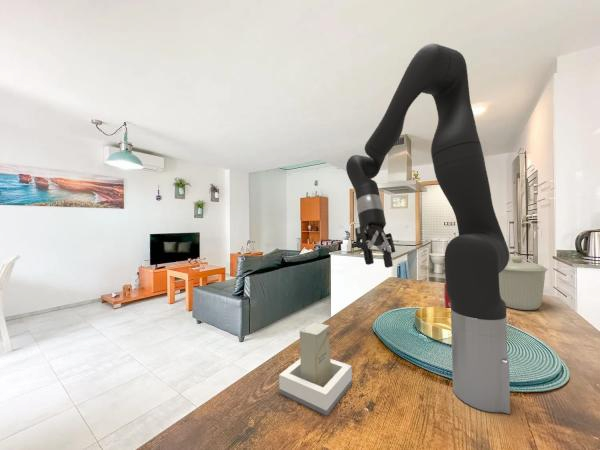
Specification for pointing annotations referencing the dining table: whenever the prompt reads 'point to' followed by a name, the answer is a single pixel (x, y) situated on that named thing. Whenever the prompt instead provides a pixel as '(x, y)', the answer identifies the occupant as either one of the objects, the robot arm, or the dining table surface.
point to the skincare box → (315, 354)
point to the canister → (522, 284)
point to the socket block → (316, 386)
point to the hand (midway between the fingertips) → (379, 265)
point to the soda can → (446, 298)
